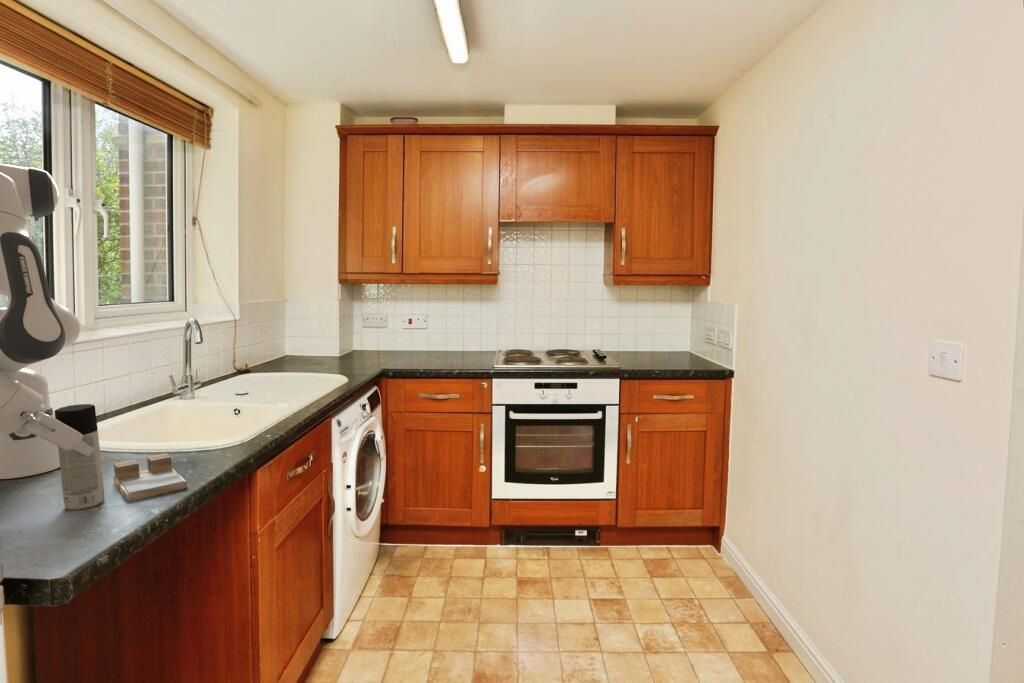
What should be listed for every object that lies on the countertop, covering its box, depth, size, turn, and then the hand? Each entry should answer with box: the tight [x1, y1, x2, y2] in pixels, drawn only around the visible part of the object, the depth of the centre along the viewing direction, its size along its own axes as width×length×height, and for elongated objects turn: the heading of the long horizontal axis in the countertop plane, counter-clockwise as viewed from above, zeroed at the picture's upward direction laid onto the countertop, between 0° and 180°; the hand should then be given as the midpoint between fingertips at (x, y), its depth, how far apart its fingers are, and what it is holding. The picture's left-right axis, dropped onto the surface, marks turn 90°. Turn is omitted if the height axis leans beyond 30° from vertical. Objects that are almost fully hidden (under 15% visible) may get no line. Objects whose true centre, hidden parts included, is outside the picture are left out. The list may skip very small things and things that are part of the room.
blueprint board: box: [113, 452, 188, 502], centre depth 129 cm, size 15×11×4 cm
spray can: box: [54, 403, 105, 511], centre depth 118 cm, size 7×7×20 cm
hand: (82, 448), depth 118 cm, fingers open, 8 cm apart
